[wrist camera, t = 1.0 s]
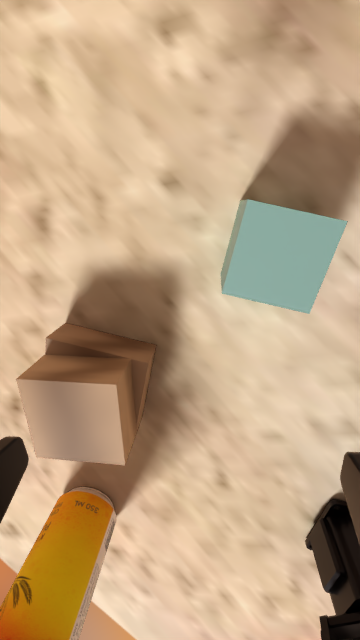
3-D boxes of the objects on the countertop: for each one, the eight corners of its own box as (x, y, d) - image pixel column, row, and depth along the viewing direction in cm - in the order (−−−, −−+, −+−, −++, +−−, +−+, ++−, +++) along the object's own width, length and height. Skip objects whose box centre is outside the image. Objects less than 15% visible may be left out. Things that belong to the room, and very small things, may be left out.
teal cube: (315, 217, 17) (347, 221, 13) (288, 289, 18) (309, 313, 14) (240, 200, 17) (247, 199, 13) (220, 273, 19) (222, 293, 14)
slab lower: (157, 342, 21) (148, 363, 19) (142, 415, 24) (133, 442, 21) (67, 321, 22) (46, 337, 19) (63, 395, 24) (44, 419, 22)
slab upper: (131, 358, 19) (116, 384, 16) (137, 431, 21) (125, 465, 18) (44, 354, 19) (16, 379, 17) (59, 425, 22) (36, 457, 19)
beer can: (56, 479, 28) (-101, 748, 14) (116, 486, 27) (13, 775, 13) (65, 520, 30) (-62, 786, 16) (121, 528, 30) (37, 811, 16)
